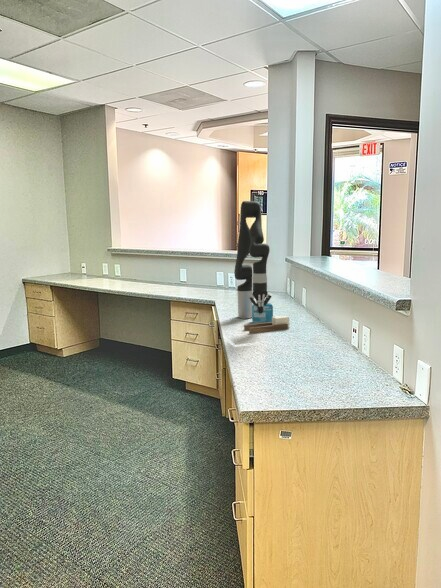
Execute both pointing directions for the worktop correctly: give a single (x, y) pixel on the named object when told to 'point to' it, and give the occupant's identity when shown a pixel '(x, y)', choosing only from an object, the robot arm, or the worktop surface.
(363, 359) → the worktop surface
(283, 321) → the sand block
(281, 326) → the walnut chute
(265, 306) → the blue labeled box
